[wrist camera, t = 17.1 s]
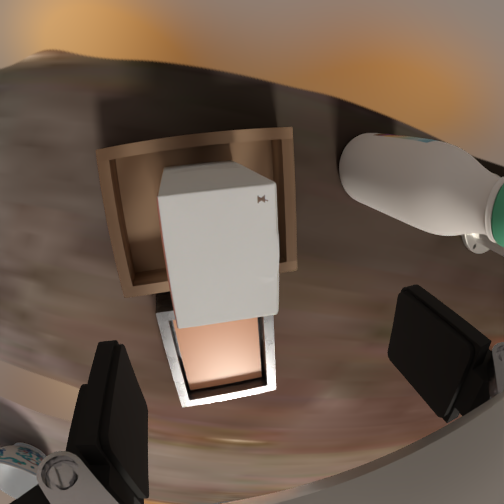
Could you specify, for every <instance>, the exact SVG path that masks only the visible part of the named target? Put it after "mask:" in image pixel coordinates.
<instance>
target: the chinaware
mask: <svg viewBox="0 0 504 504" xmlns="http://www.w3.org/2000/svg"><path fill="white" fill-rule="evenodd" d="M45 457H46V455H45V454H44V453H43V452H42V451H41V450H39V449H38V448H36V447H34V446H32V445H29V444H26V443H15V444H14V445H11V446H4V447H1V448H0V490H2V491H3V492H5V493H6V494H8V495H10V496H12V497H14V498H15V499H17V498H19V497H20V496H22V495H23V494H24V493H26V492H27V491H29V490H30V489H32V488H33V487H34V486H36V485H37V484H38V481H37V478H36V472H37V468H38V465H39V464H40V462H41V461H42V460H43V459H44V458H45Z"/></svg>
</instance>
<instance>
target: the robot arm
mask: <svg viewBox="0 0 504 504" xmlns="http://www.w3.org/2000/svg"><path fill="white" fill-rule="evenodd" d="M493 174H494V173H493ZM494 175H496V176H497V177H500V176H498V175H497V174H494ZM500 178H501V177H500ZM461 236H462V240H463V242H464V245H465V246H466V247H467V249H469V250H470V251H472V252H474V253H477V254H481V253H484V252H486V251H488V250H489V249H491V250H492V251H494V252H496V253H498V254H500V255H502V256H504V247H502V246H500V245H499V244H498V243H494V242H492V241H491V240H489V238H488V236H487V235H484V234H475V233H471V234H462V235H461ZM490 344H491V340H489V339H488V338H487V337H486V336H484V335H483V334H482V333H481V332H479V331H478V330H477V329H476V328H474V327H473V326H472V325H471V324H469V323H468V322H467V321H466V320H464V319H463V318H462V317H460V316H459V315H458V314H456V313H455V312H454V311H453V310H451V309H450V308H449V307H447V306H446V305H445V304H443V303H442V302H441V301H439V300H438V299H437V298H435V297H434V296H433V295H431V294H430V293H429V292H427V291H426V290H425V289H423V288H422V287H421V286H419V285H412V286H408V287H404V288H403V289H402V290H401V293H399V295H398V299H397V305H396V311H395V317H394V322H393V328H392V333H391V338H390V343H389V348H388V357H389V359H390V361H391V362H392V363H393V364H394V365H395V367H396V368H397V369H398V370H399V371H400V372H401V373H402V375H403V376H404V377H405V378H406V379H407V380H408V382H409V383H410V384H411V385H412V386H413V387H414V389H415V390H416V391H417V392H418V393H419V395H420V396H421V397H422V398H423V399H424V400H425V402H426V403H427V404H428V405H429V406H430V408H431V409H432V410H433V411H434V412H435V414H436V415H437V416H438V417H442V418H443V419H444V420H445V422H446V423H448V422H450V421H452V420H453V419H455V418H457V417H458V415H459V413H460V414H461V415H462V417H461V418H459V419H457V420H455V421H454V422H452V423H450V424H448V425H447V426H445V427H443V428H441V429H439V430H438V431H436V432H434V433H432V434H430V435H428V436H426V437H424V438H422V439H420V440H418V441H416V442H414V443H412V444H410V445H408V446H406V447H404V448H402V449H399V450H397V451H395V452H393V453H390V454H388V455H386V456H384V457H381V458H379V459H376V460H374V461H372V462H369V463H367V464H364V465H361V466H359V467H356V468H354V469H351V470H348V471H345V472H343V473H340V474H337V475H334V476H331V477H328V478H325V479H322V480H318V481H315V482H312V483H309V484H305V485H302V486H298V487H295V488H291V489H287V490H283V491H279V492H275V493H271V494H266V495H262V496H257V497H252V498H247V499H242V500H237V501H231V502H225V503H220V504H504V342H501V343H497V344H496V345H495V346H494V347H493V349H492V351H490V350H489V346H490ZM36 478H37V481H38V484H37V485H36V486H34V487H33V488H32V489H30V490H29V491H27V492H26V493H24V494H23V495H22V496H20V497H19V498H17V499H16V500H14V501H13V502H12V503H10V504H144V498H148V497H149V481H148V409H147V404H146V401H145V399H144V396H143V394H142V392H141V389H140V386H139V384H138V381H137V379H136V376H135V373H134V371H133V368H132V365H131V363H130V360H129V357H128V354H127V351H126V348H125V346H124V345H123V344H118V342H117V341H116V340H113V341H103V342H99V343H98V346H97V349H96V353H95V357H94V360H93V364H92V368H91V372H90V376H89V380H88V384H83V385H82V386H81V388H80V390H79V394H78V398H77V402H76V406H75V410H74V415H73V419H72V423H71V428H70V432H69V437H68V442H67V447H66V451H59V452H54V453H52V454H49V455H47V456H46V457H45V458H44V459H43V460H42V461H41V462H40V464H39V465H38V468H37V472H36Z"/></svg>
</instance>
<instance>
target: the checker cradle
mask: <svg viewBox="0 0 504 504" xmlns="http://www.w3.org/2000/svg"><path fill="white" fill-rule="evenodd" d="M156 316H157V320H158V324H159V328H160V332H161V336H162V340H163V343H164V347H165V351H166V354H167V358H168V362H169V365H170V368H171V372H172V375H173V379H174V382H175V385H176V389H177V392H178V395H179V398H180V401H181V404H182V407H188V406H194V405H201V404H207V403H213V402H218V401H224V400H229V399H234V398H239V397H244V396H249V395H254V394H258V393H263V392H267V391H271V390H276V372H275V344H274V319H273V315H269V316H263V317H258V332H259V346H260V360H261V374H262V377H258V378H254V379H249V380H244V381H239V382H234V383H229V384H223V385H218V386H212V387H206V388H200V389H194V390H190V387H189V384H188V380H187V376H186V372H185V368H184V365H183V361H182V357H181V353H180V349H179V344H178V340H177V336H176V332H175V327H174V323H173V320H175V315H174V310H173V305H172V299H171V294H170V291H168V292H162V293H157V295H156Z"/></svg>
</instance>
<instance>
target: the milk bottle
mask: <svg viewBox="0 0 504 504" xmlns="http://www.w3.org/2000/svg"><path fill="white" fill-rule="evenodd" d="M339 174H340V179H341V183H342V185H343V187H344V189H345V191H346V192H347V193H348V194H349V196H351V197H352V198H353V199H355V200H356V201H358V202H360V203H362V204H365V205H367V206H369V207H371V208H374V209H376V210H378V211H380V212H383V213H385V214H387V215H389V216H391V217H394V218H396V219H398V220H400V221H403V222H405V223H407V224H409V225H411V226H414V227H416V228H419V229H421V230H423V231H426V232H429V233H433V234H436V235H443V236H454V235H462V234H471V233H475V234H484V235H487V236H488V238H489V240H491V241H492V242H494V243H498V244H499V245H500V246H502V247H504V177H501V178H500V177H497V176H496V175H494V174H493V173H491V172H490V171H488V170H487V169H486V168H485V167H483V166H482V165H481V164H480V163H479V162H478V161H477V160H476V159H475V158H474V157H472V156H471V155H470V154H469V153H467V152H466V151H464V150H463V149H461V148H459V147H457V146H454V145H451V144H449V143H445V142H441V141H436V140H431V139H424V138H417V137H410V136H401V135H391V134H380V133H365V134H361V135H359V136H357V137H355V138H354V139H352V140H351V141H350V142H349V143H348V144H347V145H346V147H345V149H344V150H343V152H342V155H341V158H340V162H339Z"/></svg>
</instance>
